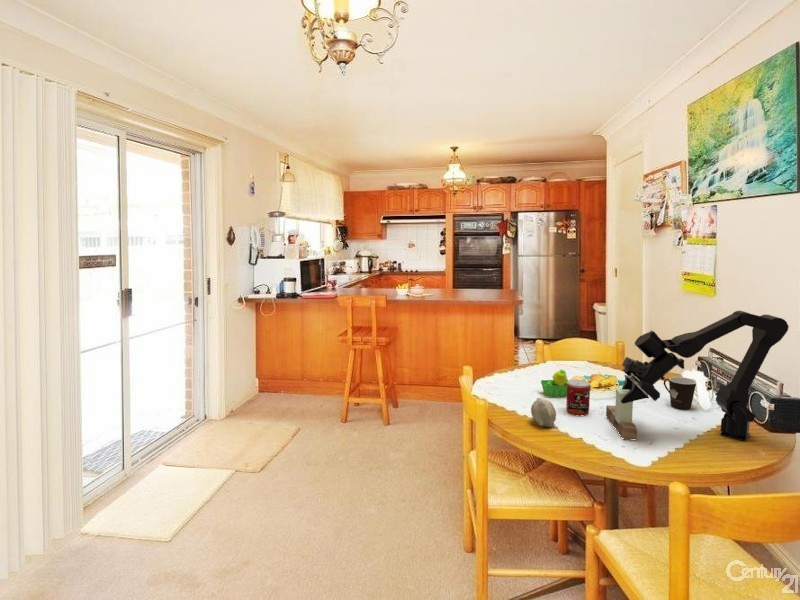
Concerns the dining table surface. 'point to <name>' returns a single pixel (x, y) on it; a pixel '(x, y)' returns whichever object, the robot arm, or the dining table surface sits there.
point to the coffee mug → (681, 392)
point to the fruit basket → (556, 385)
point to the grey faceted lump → (543, 412)
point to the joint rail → (621, 424)
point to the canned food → (578, 397)
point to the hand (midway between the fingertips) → (619, 400)
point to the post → (623, 407)
